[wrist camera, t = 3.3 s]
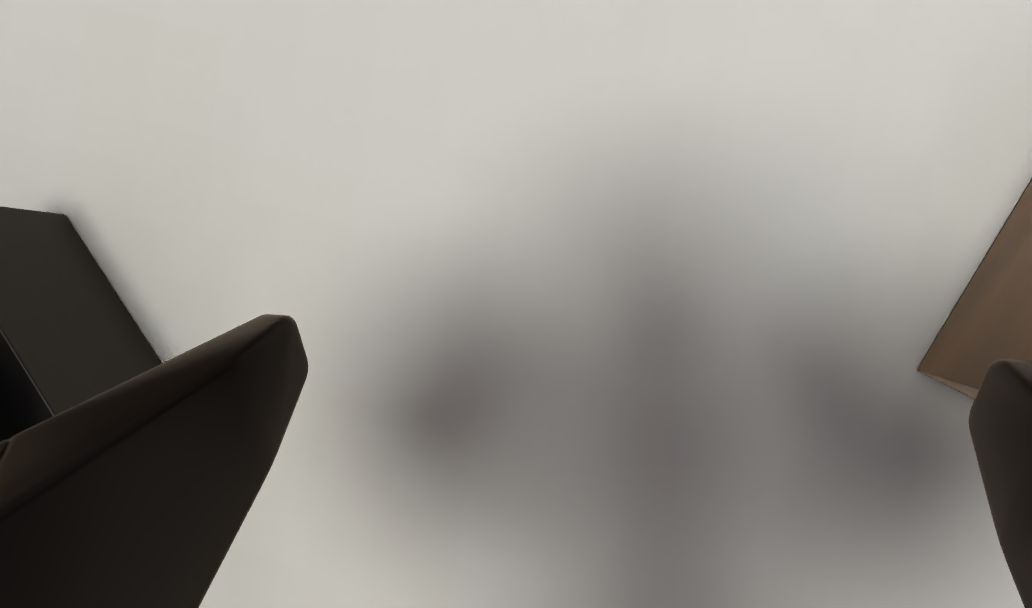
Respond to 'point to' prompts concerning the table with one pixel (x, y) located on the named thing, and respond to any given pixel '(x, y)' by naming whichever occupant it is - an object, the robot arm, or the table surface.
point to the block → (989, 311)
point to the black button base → (57, 323)
